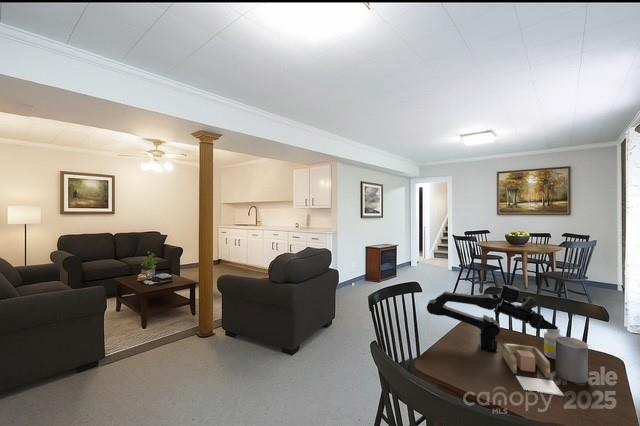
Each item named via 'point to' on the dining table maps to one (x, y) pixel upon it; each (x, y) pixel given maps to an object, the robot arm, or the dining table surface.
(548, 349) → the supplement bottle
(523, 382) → the cream mat
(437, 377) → the dining table surface
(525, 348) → the open front box
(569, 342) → the pillar candle
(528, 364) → the terracotta block
